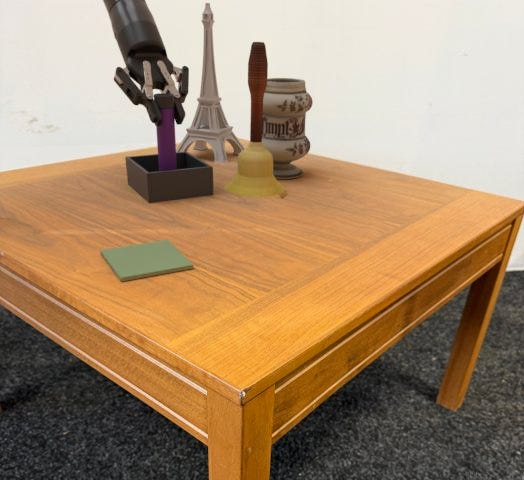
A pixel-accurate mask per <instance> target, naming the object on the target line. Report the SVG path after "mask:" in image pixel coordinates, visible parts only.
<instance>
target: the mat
mask: <svg viewBox="0 0 524 480" xmlns="http://www.w3.org/2000/svg"><path fill="white" fill-rule="evenodd" d="M99 251H100V252H99V253H100V255H101V256H102V257H103V259H104V260H105V262H106V264H107V265H108V266H109V267H110V269H111V270H112V271H113V273H114V274H115V275H116V277H117V278H118V280H119V281H120V282H121V283H122V282H127V281H133V280H138V279H144V278H149V277H150V278H151V277H155V276H160V275H167V274H171V273H176V272H182V271H187V270H193V269H194V264H193V263H192V261H190V260H189V259H188V257H186V256H185V255H184V254H183V253H182V252H181V251H180V250H179V249H178V248H177V247H176V246H175V245H174V244H173V243H172V242H171V241H170V240H169V239H162V240H156V241H150V242H149V241H148V242H143V243H136V244H130V245H123V246H118V247H112V248H105V249H100V250H99Z"/></svg>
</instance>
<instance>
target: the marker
mask: <svg viewBox="0 0 524 480" xmlns="http://www.w3.org/2000/svg"><path fill="white" fill-rule="evenodd" d="M153 96H154V97H153V100H156V102H157V105H158V107H159V110H160V113H161V115H162V122H161V125H160V126H155V128H156V144H157V145H156V146H157V154H158V162H159V171H168V170H177V164H176V149H177V145H176V142H177V141H176V121H175V118H174V107H175V105H174V95H173V94H166V93H161V92H159V93H153Z"/></svg>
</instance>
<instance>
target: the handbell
mask: <svg viewBox="0 0 524 480" xmlns="http://www.w3.org/2000/svg"><path fill="white" fill-rule="evenodd" d="M268 67H269V63H268V56H267V48H266V44H265V42H264V41H252V43H251V46H250V52H249V57H248V62H247V86H248V90H249V93H250V94H249V95H250V123H249V124H250V127H249V130H250V131H249V134H250V135H249V144H248V145H247V147H245V149H244V150H243V151H241V152H240V153H239V155H237V172H236V174H235V175H234V177H233V178H232V179H231V180H230V181H229V182H228V183H226V185H224V190H226V191H227V192H229V193H231V194H234V195H237V196H242V197H243V196H244V197H252V198H255V197H257V198H263V197H272V196H277V195H279V197H280V199H282V198H284V197H286V195H287V190H286V187H285V186H284V185H282V184H281V182H279V181H278V179H276V178H275V177H274V175H273V157H272V154H271V153H270V152H269V151H268V150H266V149H265V148H264V147H263V144H262V120H263V97H264V93H265V90H266V86H267V79H268V74H269V73H268V71H269V70H268V69H269V68H268Z"/></svg>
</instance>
